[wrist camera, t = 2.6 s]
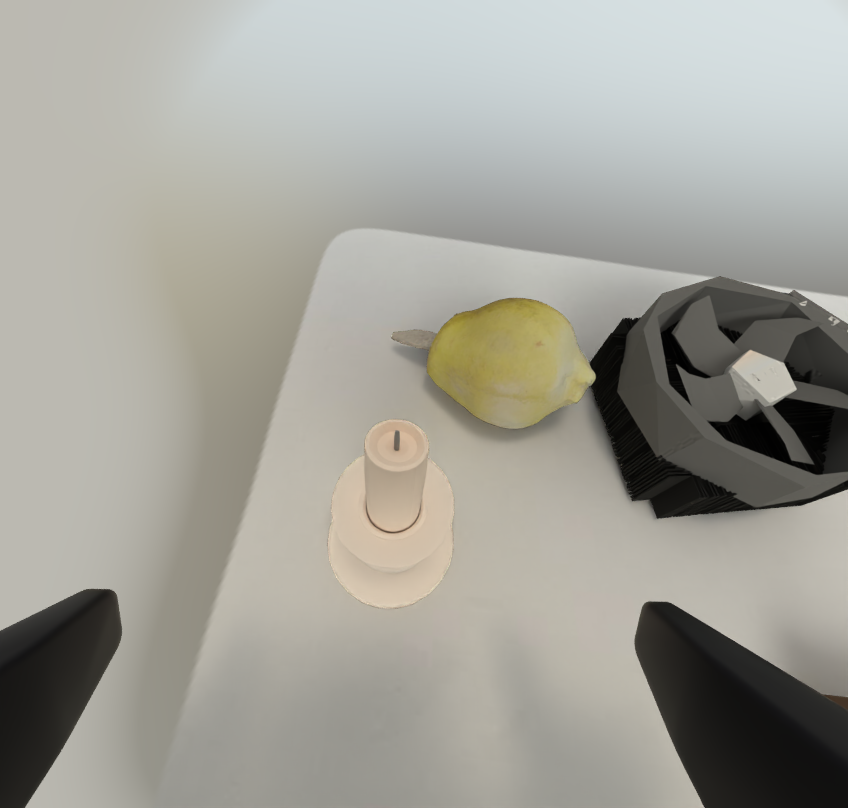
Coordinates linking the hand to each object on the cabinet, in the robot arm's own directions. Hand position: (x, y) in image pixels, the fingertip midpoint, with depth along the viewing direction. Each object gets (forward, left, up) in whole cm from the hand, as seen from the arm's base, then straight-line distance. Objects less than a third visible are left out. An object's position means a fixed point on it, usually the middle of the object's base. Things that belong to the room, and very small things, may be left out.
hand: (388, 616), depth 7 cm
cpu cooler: (+14, -11, -11) cm, 21 cm away
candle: (+3, +1, -11) cm, 11 cm away
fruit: (+12, 0, -11) cm, 16 cm away
